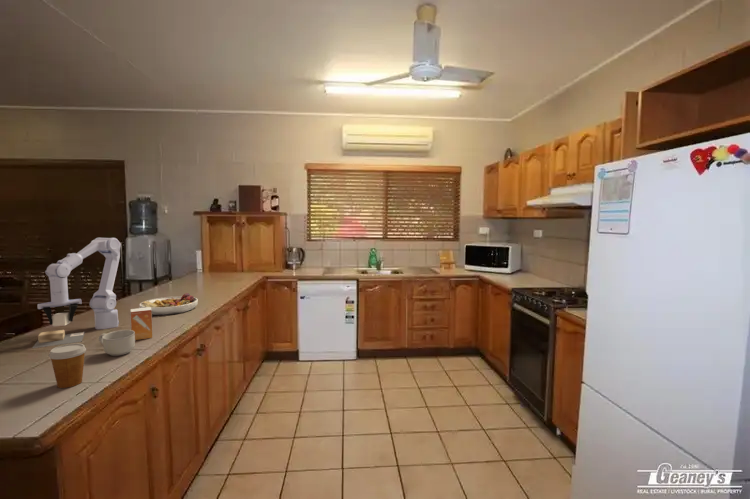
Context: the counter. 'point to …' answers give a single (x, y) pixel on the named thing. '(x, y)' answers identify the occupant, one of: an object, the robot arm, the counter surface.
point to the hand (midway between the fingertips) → (61, 322)
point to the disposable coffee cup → (68, 364)
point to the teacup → (118, 342)
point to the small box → (141, 322)
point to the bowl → (170, 304)
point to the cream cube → (61, 319)
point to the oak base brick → (51, 336)
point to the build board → (67, 339)
